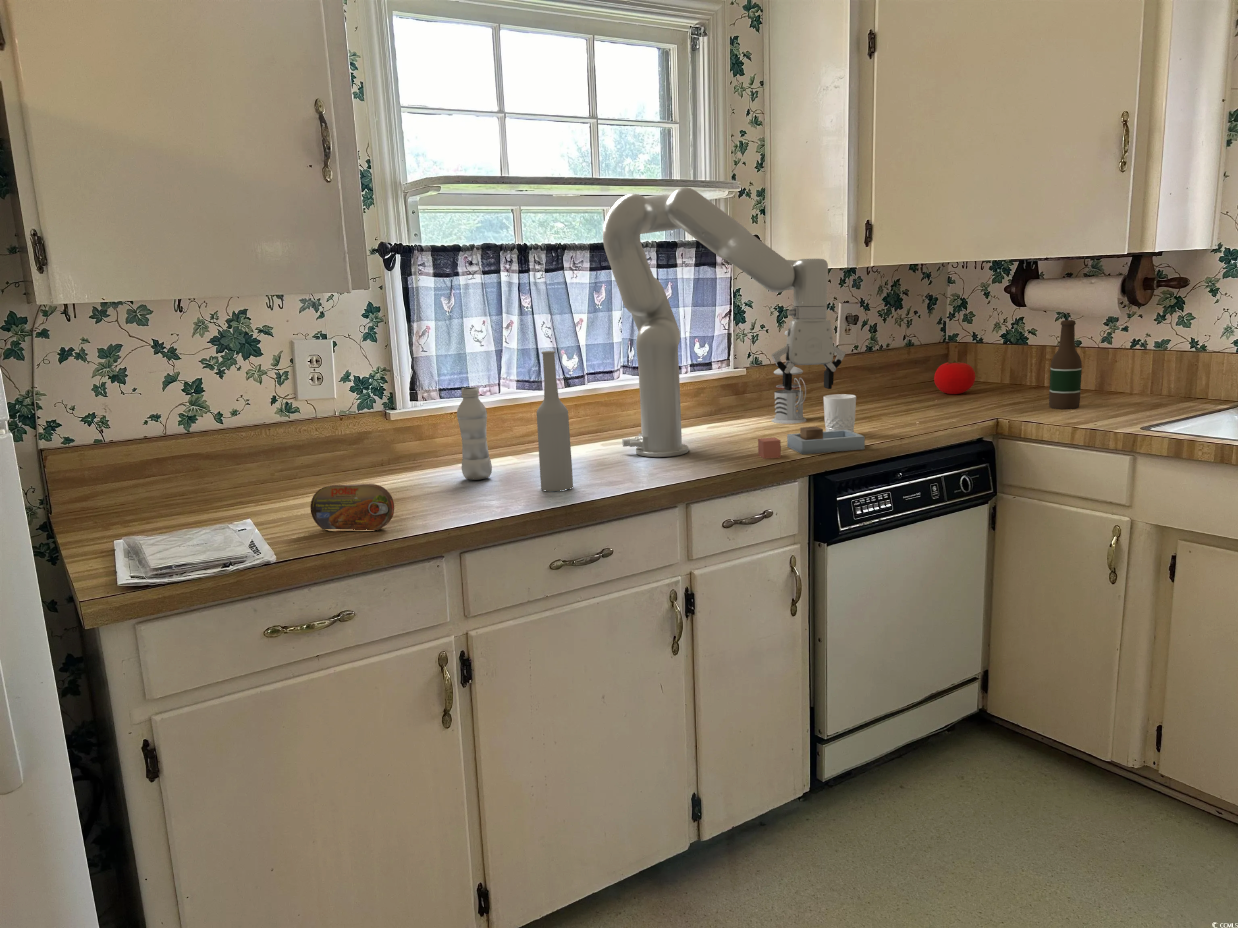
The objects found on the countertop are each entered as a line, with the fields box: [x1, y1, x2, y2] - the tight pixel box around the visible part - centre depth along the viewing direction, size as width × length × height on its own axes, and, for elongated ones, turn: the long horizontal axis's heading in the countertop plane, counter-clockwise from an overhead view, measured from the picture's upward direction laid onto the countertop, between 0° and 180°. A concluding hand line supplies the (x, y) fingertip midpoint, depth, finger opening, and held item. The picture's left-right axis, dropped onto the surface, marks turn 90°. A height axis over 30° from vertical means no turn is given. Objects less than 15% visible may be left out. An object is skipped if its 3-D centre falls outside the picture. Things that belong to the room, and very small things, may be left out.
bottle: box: [536, 350, 574, 492], centre depth 183 cm, size 7×7×28 cm
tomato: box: [933, 360, 976, 395], centre depth 287 cm, size 11×12×10 cm
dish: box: [786, 430, 866, 455], centre depth 213 cm, size 15×10×3 cm, turn 99°
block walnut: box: [799, 426, 824, 440], centre depth 212 cm, size 4×4×4 cm
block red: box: [757, 436, 782, 460], centre depth 207 cm, size 4×4×4 cm
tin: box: [309, 483, 395, 531], centre depth 161 cm, size 15×3×8 cm, turn 80°
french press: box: [771, 330, 807, 425], centre depth 250 cm, size 10×12×25 cm
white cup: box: [823, 393, 857, 433], centre depth 226 cm, size 8×8×10 cm
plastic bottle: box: [456, 386, 493, 481], centre depth 196 cm, size 6×7×20 cm
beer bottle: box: [1048, 319, 1083, 410], centre depth 250 cm, size 8×8×24 cm
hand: (807, 389), depth 210 cm, fingers open, 9 cm apart
